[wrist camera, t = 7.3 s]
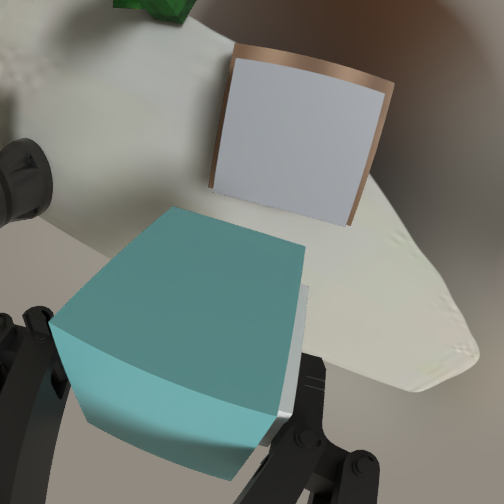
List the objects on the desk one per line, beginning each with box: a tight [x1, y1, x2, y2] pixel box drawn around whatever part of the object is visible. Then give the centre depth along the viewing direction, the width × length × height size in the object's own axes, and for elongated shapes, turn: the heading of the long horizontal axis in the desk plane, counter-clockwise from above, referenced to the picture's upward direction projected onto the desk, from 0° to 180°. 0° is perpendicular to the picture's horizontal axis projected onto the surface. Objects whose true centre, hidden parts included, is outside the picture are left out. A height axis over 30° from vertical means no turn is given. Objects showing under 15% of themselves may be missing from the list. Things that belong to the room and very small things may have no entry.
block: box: [49, 206, 305, 481], centre depth 11 cm, size 6×6×8 cm
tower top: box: [213, 58, 385, 227], centre depth 26 cm, size 12×12×6 cm
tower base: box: [208, 43, 394, 226], centre depth 31 cm, size 16×16×6 cm
